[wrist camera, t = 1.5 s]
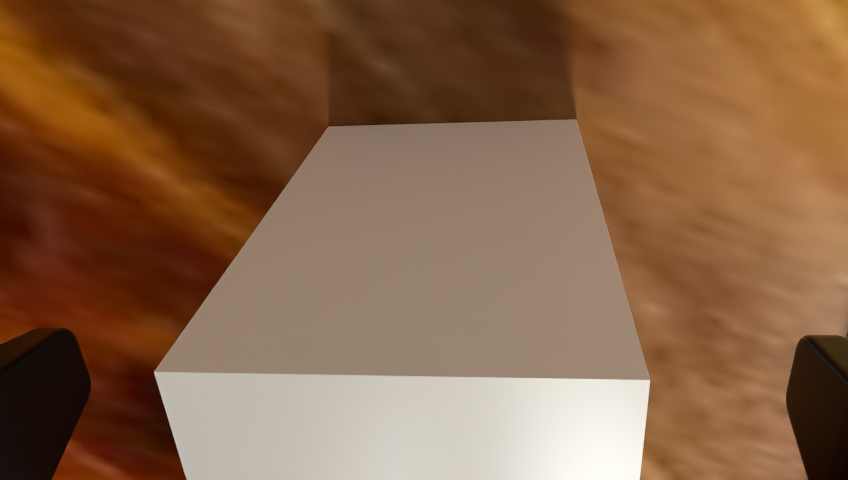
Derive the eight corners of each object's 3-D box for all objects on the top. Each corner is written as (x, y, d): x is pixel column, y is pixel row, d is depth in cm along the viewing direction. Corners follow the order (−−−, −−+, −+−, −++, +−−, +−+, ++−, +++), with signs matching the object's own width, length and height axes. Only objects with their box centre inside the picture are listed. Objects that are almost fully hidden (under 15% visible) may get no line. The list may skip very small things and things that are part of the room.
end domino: (573, 193, 14) (637, 501, 7) (337, 197, 15) (187, 483, 8) (576, 119, 14) (651, 379, 7) (328, 126, 14) (154, 371, 7)
